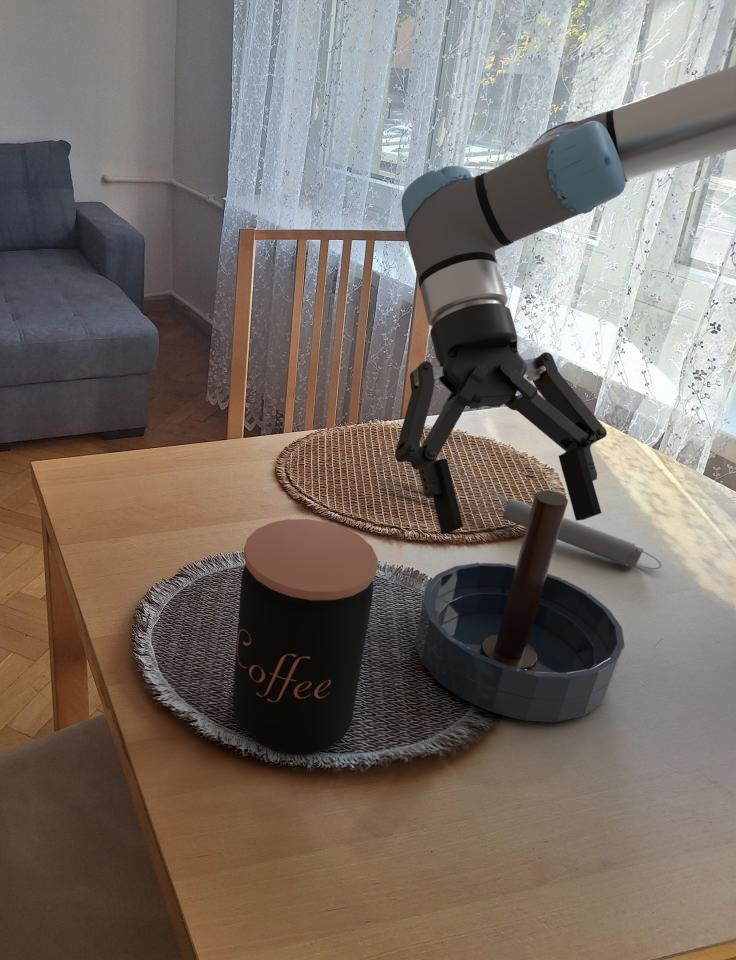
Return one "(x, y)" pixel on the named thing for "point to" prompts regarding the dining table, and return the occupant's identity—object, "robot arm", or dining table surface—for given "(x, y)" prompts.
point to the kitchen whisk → (568, 530)
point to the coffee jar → (301, 633)
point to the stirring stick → (527, 584)
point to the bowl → (554, 636)
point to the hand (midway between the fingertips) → (521, 524)
